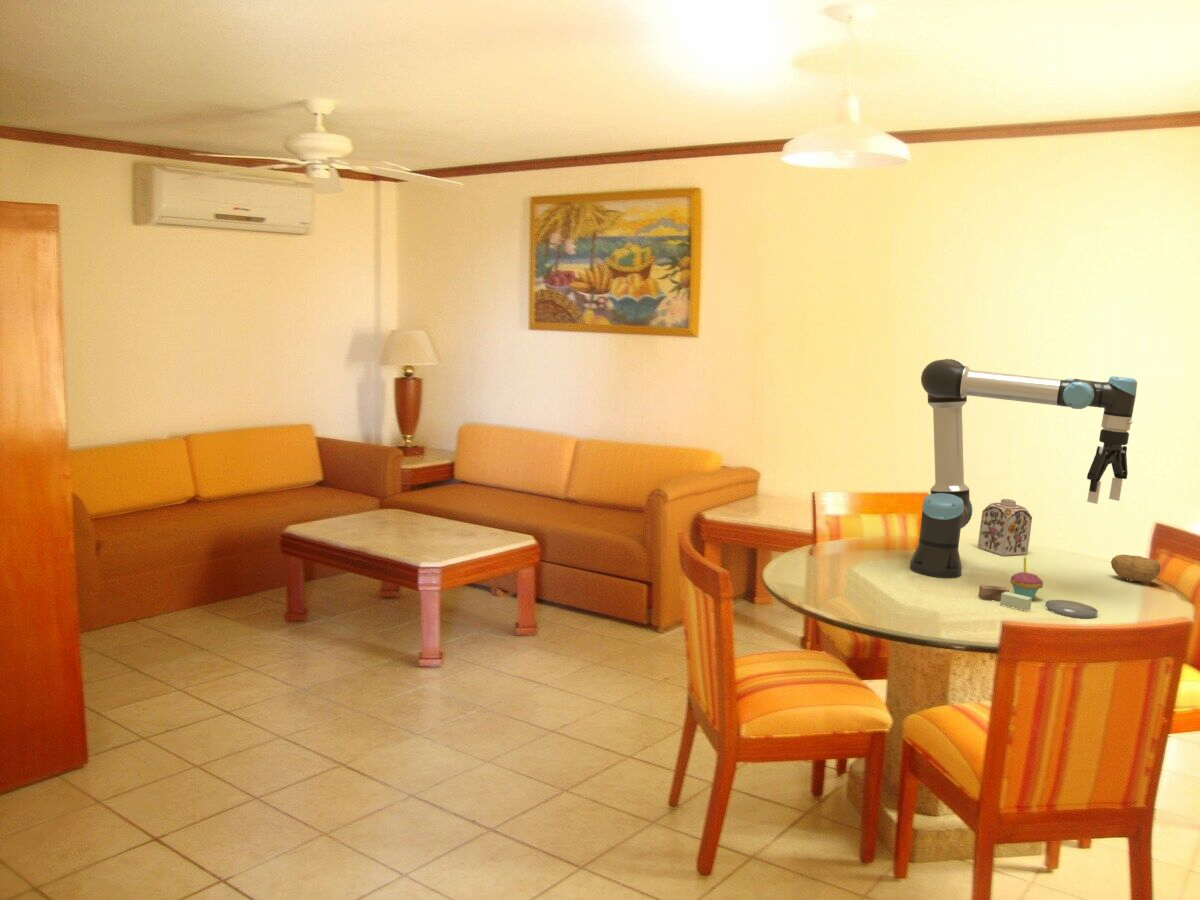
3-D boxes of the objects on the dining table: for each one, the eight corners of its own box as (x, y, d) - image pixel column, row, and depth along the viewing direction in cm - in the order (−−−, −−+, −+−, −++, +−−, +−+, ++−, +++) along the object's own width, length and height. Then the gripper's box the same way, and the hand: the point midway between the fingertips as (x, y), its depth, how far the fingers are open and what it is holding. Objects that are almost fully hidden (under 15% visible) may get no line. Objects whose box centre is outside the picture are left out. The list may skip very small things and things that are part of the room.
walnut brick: (981, 600, 286) (983, 588, 285) (978, 596, 289) (979, 584, 289) (1007, 602, 285) (1009, 590, 285) (1003, 599, 288) (1005, 587, 288)
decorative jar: (976, 548, 351) (982, 496, 348) (1001, 546, 356) (1007, 495, 353) (1003, 556, 340) (1010, 504, 338) (1028, 555, 345) (1035, 503, 343)
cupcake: (1002, 593, 294) (1007, 552, 292) (1025, 592, 297) (1030, 552, 295) (1024, 602, 286) (1029, 560, 284) (1047, 601, 289) (1053, 559, 287)
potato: (1114, 573, 327) (1118, 549, 326) (1162, 584, 318) (1166, 559, 316) (1103, 578, 320) (1107, 553, 319) (1152, 589, 311) (1156, 563, 309)
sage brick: (999, 605, 281) (1001, 593, 281) (1004, 603, 284) (1006, 591, 283) (1025, 612, 277) (1027, 599, 276) (1030, 610, 279) (1031, 597, 279)
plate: (1044, 612, 277) (1045, 608, 276) (1045, 601, 288) (1046, 597, 288) (1097, 621, 271) (1098, 617, 271) (1096, 609, 283) (1096, 605, 283)
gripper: (1108, 433, 287) (1095, 506, 291) (1147, 431, 303) (1135, 501, 306) (1081, 428, 293) (1070, 501, 296) (1121, 427, 309) (1110, 495, 312)
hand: (1103, 501), depth 301 cm, fingers open, 13 cm apart
